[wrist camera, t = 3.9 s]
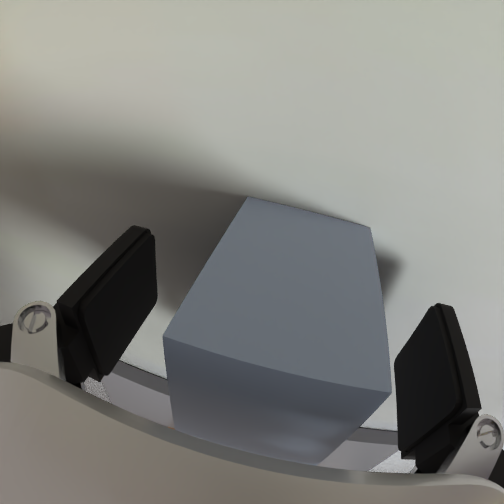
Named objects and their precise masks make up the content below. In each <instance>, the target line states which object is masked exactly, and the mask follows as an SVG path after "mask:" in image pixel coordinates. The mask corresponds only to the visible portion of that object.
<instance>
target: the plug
mask: <svg viewBox="0 0 504 504" xmlns="http://www.w3.org/2000/svg"><path fill="white" fill-rule="evenodd" d="M163 346H164V355H165V364H166V372H167V380H168V388H169V395H170V402H171V409H172V415H173V422H174V428H175V430H177V431H179V432H182V433H185V434H188V435H191V436H194V437H197V438H200V439H203V440H207V441H210V442H213V443H216V444H220V445H223V446H227V447H230V448H234V449H238V450H242V451H246V452H250V453H254V454H258V455H262V456H267V457H271V458H276V459H281V460H286V461H291V462H297V463H302V464H308V465H315V466H317V465H318V464H320V463H321V462H322V461H323V460H324V459H325V458H327V457H328V456H329V455H330V454H331V453H332V452H333V451H334V450H336V449H337V448H338V447H339V446H340V445H341V444H342V443H343V442H344V441H345V440H346V439H348V438H349V437H350V436H351V435H352V434H353V433H354V432H355V431H356V430H357V429H358V428H359V427H360V426H361V425H362V424H363V423H364V422H365V421H366V420H367V419H368V418H369V417H370V416H371V415H372V414H373V413H374V412H375V411H376V410H377V409H378V407H379V406H380V405H381V404H382V403H383V402H384V401H385V400H386V399H387V398H388V397H389V395H390V394H391V393H392V386H391V371H390V358H389V347H388V337H387V328H386V319H385V311H384V304H383V297H382V290H381V283H380V277H379V271H378V265H377V259H376V254H375V249H374V243H373V238H372V233H371V228H370V227H366V226H363V225H359V224H355V223H352V222H348V221H344V220H341V219H337V218H333V217H329V216H326V215H322V214H318V213H314V212H310V211H306V210H302V209H298V208H294V207H290V206H286V205H282V204H278V203H274V202H270V201H265V200H261V199H257V198H253V197H247V199H246V200H245V202H244V203H243V205H242V207H241V208H240V210H239V211H238V213H237V214H236V216H235V218H234V219H233V221H232V222H231V224H230V226H229V227H228V229H227V230H226V232H225V234H224V235H223V237H222V238H221V240H220V241H219V243H218V245H217V246H216V248H215V250H214V251H213V253H212V254H211V256H210V258H209V259H208V261H207V262H206V264H205V266H204V267H203V269H202V271H201V272H200V274H199V276H198V277H197V279H196V280H195V282H194V284H193V285H192V287H191V289H190V290H189V292H188V294H187V295H186V297H185V299H184V300H183V302H182V304H181V305H180V307H179V309H178V310H177V312H176V314H175V315H174V317H173V319H172V320H171V322H170V324H169V326H168V327H167V329H166V331H165V332H164V334H163Z"/></svg>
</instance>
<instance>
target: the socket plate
mask: <svg viewBox="0 0 504 504" xmlns="http://www.w3.org/2000/svg"><path fill="white" fill-rule="evenodd" d="M101 382H102V384H103V386H104V388H105V391H106V393H107V395H108V397H109V399H110V401H111V403H112V404H113V405H115V406H118V407H120V408H122V409H124V410H127V411H129V412H131V413H133V414H136V415H138V416H140V417H143V418H145V419H148V420H150V421H153V422H155V423H158V424H160V425H163V426H166V427H168V428H171V429H174V430H175V428H174V422H173V415H172V409H171V402H170V395H169V388H168V380H166V379H163V378H160V377H158V376H155V375H153V374H150V373H147V372H145V371H142V370H140V369H137V368H135V367H133V366H130V365H128V364H125V363H123V362H121V361H118V362H117V364H116V365H115V367H114V369H113V370H112V372H111V373H110V374H109V375H108V376H105V375H104V377H103V378H102V380H101ZM398 450H399V449H398V432H393V431H383V430H374V429H365V428H358V429H357V430H356V431H355V432H354V433H353V434H352V435H351V436H350V437H349V438H348V439H346V440H345V441H344V442H343V443H342V444H341V445H340V446H339V447H338V448H337V449H336V450H334V451H333V452H332V453H331V454H330V455H329V456H328V457H327V458H325V459H324V460H323V461H322V462H321V463H320V464H318V465H317V466H321V467H329V468H336V469H345V470H355V471H369V470H370V469H372V468H373V467H375V466H376V465H378V464H379V463H381V462H382V461H384V460H385V459H387V458H388V457H390V456H391V455H393V454H394V453H395V452H397V451H398Z"/></svg>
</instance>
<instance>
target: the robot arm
mask: <svg viewBox="0 0 504 504" xmlns="http://www.w3.org/2000/svg"><path fill="white" fill-rule="evenodd" d="M156 301H157V279H156V260H155V238H154V235H152V234H151V232H150V230H149V229H146V228H142V227H139V226H131V227H130V228H129V229H128V230H127V231H126V232H125V233H124V234H123V235H122V236H120V237H119V238H118V239H117V240H116V241H115V242H114V243H113V244H112V245H111V246H110V247H109V248H108V249H107V250H106V251H105V252H104V253H103V254H102V255H101V256H100V257H99V258H98V259H97V260H96V261H95V262H94V263H93V264H92V265H91V266H90V267H89V268H88V269H87V270H86V271H85V272H84V273H83V274H82V275H81V276H80V277H79V278H78V279H77V280H76V281H75V282H74V283H73V284H72V285H71V286H70V287H69V288H68V289H67V290H66V291H65V292H64V294H63V295H62V296H61V297H60V298H59V299H58V300H57V303H56V304H55V305H54V306H53V307H52V305H50V304H49V303H47V302H43V301H35V302H31V303H28V304H27V305H25V306H23V307H22V308H21V309H20V310H19V311H18V312H17V314H16V315H15V318H14V321H13V323H12V324H8V325H3V326H0V504H504V450H503V449H502V448H503V445H504V431H503V428H502V426H501V424H500V422H499V421H498V420H497V419H496V418H495V417H493V416H492V415H488V414H484V415H481V416H479V414H478V411H479V410H480V409H482V408H481V403H480V398H479V394H478V390H477V385H476V381H475V377H474V373H473V369H472V366H471V362H470V358H469V355H468V351H467V348H466V345H465V341H464V338H463V335H462V332H461V329H460V326H459V323H458V320H457V317H456V314H455V311H454V309H453V307H452V306H448V305H444V304H440V303H437V304H435V305H434V306H431V307H430V308H429V309H428V311H427V312H426V314H425V316H424V317H423V319H422V320H421V322H420V323H419V325H418V326H417V328H416V330H415V331H414V332H413V334H412V335H411V337H410V338H409V340H408V341H407V343H406V344H405V346H404V347H403V348H402V350H401V351H400V353H399V354H398V355H397V357H396V359H395V362H394V372H395V385H396V401H397V427H398V449H399V451H401V459H413V460H415V464H416V465H415V466H414V468H413V469H412V470H411V471H410V473H383V472H367V471H355V470H345V469H336V468H329V467H321V466H315V465H308V464H302V463H297V462H291V461H286V460H281V459H276V458H271V457H267V456H262V455H258V454H254V453H250V452H246V451H242V450H238V449H234V448H230V447H227V446H223V445H220V444H216V443H213V442H210V441H207V440H203V439H200V438H197V437H194V436H191V435H188V434H185V433H182V432H179V431H177V430H174V429H171V428H168V427H166V426H163V425H160V424H158V423H155V422H153V421H150V420H148V419H145V418H143V417H140V416H138V415H136V414H133V413H131V412H129V411H127V410H124V409H122V408H120V407H118V406H115V405H113V404H111V403H109V402H107V401H104V400H102V399H100V398H98V397H96V396H94V395H92V394H90V393H88V392H86V391H85V386H84V382H85V380H86V379H87V377H88V376H89V377H91V378H93V379H95V380H97V381H99V382H101V380H102V378H103V377H104V375H105V376H108V375H109V374H110V373H111V372H112V370H113V369H114V367H115V365H116V364H117V362H118V361H119V359H120V358H121V356H122V354H123V353H124V351H125V350H126V348H127V347H128V345H129V344H130V342H131V340H132V339H133V337H134V336H135V334H136V333H137V331H138V330H139V328H140V327H141V325H142V324H143V322H144V321H145V319H146V318H147V316H148V315H149V313H150V312H151V310H152V309H153V307H154V306H155V304H156Z"/></svg>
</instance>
